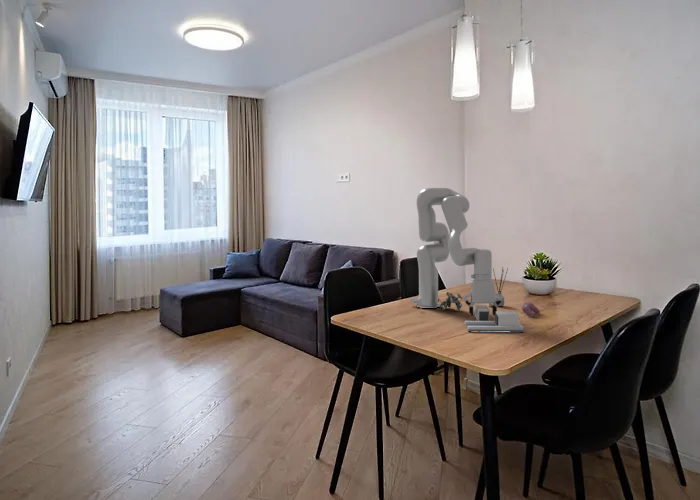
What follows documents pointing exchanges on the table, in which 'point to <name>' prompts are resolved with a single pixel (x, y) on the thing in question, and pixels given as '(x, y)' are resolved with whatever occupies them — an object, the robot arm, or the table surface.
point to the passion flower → (451, 301)
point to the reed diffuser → (499, 290)
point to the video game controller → (530, 309)
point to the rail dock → (498, 323)
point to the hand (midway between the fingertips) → (482, 315)
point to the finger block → (482, 313)
